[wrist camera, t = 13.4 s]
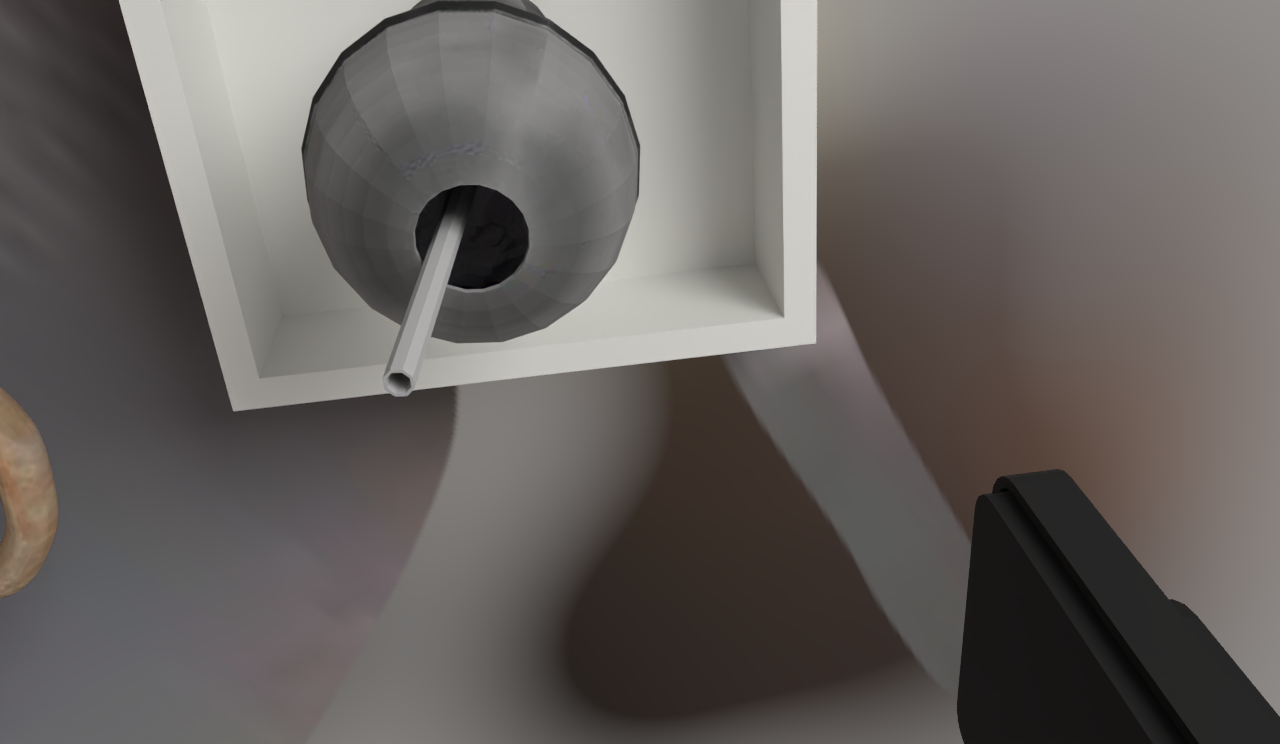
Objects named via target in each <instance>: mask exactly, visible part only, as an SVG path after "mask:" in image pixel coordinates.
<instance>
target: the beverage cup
mask: <svg viewBox="0 0 1280 744" xmlns="http://www.w3.org/2000/svg"><path fill="white" fill-rule="evenodd" d="M301 152H302V160H303V168H304V177H305V185H306V194H307V201H308V204H309V207H310V215H311V219H312V223H313V225H314V227H315V230H316V232H317V234H318V236H319V238H320V240H321V242H322V244H323V246H324V249H325V251H326V253H327V255H328V257H329V259H330V261H331V263H332V265H333V268H334V269H335V270H336V271H337V272H338V273H339V274H340V275H341V276H342V278H343V279H344V280H345V281H346V282H347V283H348V284H349V285H350V286H351V287H352V288H353V289H354V290H355V291H356V293H357V294H358V295H359V296H360V297H361V298H362V299H363V300H364V301H365V302H366V303H367V304H368V305H369V306H370V308H372V309H373V310H375V311H377V312H378V313H380V314H382V315H384V316H385V317H387V318H389V319H390V320H392V321H394V322H395V323H397V324H399V325H401V327H400V330H399V333H398V336H397V338H396V341H395V344H394V347H393V350H392V353H391V355H390V358H389V361H388V364H387V367H386V369H385V372H384V375H383V378H382V380H383V385H384V390H386V391H387V392H389V393H390V394H392V395H393V396H395V397H398V396H408V395H409V394H410V393H411V392H412V391H413V389H414V388H415V386H416V383H417V379H418V376H419V373H420V370H421V367H422V363H423V360H424V357H425V354H426V351H427V347H428V344H429V341H430V338H431V337H433V338H437V339H441V340H445V341H449V342H453V343H489V342H505V341H508V340H511V339H514V338H517V337H520V336H523V335H526V334H529V333H533V332H536V331H539V330H542V329H545V328H547V327H548V326H550V325H551V324H553V323H554V322H556V321H557V320H558V319H560V318H561V317H563V316H564V315H566V314H567V313H569V312H570V311H572V310H573V309H574V308H576V307H577V306H579V305H580V304H582V303H583V302H584V301H585V300H586V299H588V297H589V296H590V295H591V294H592V292H593V291H594V290H595V288H596V287H597V286H598V285H599V283H600V282H601V281H602V279H603V278H604V277H605V276H606V274H607V273H608V272H609V270H610V269H611V268H612V267H613V265H614V264H615V263H616V261H617V258H618V256H619V253H620V250H621V247H622V244H623V242H624V239H625V236H626V233H627V231H628V228H629V225H630V222H631V219H632V217H633V214H634V211H635V205H636V202H637V200H638V197H639V176H640V143H639V140H638V136H637V133H636V130H635V127H634V123H633V120H632V117H631V114H630V110H629V107H628V104H627V101H626V97H625V95H624V94H623V92H622V91H621V89H620V88H619V87H618V85H617V84H616V82H615V81H614V80H613V78H612V77H611V75H610V74H609V73H608V71H607V70H606V68H605V67H604V66H603V64H602V63H601V61H600V60H599V58H598V57H597V56H596V54H595V53H594V52H593V51H592V50H591V49H589V48H588V47H587V46H585V45H584V44H582V43H581V42H580V41H578V40H577V39H576V38H574V37H573V36H572V35H570V34H569V33H568V32H566V31H565V30H564V29H562V28H561V27H560V26H558V25H557V24H555V23H554V22H553V21H551V20H550V19H548V18H546V17H545V16H544V15H543V13H542V12H541V11H540V9H539V8H538V7H537V6H536V5H535V4H534V3H532V2H531V1H530V0H421V1H420V2H419V3H417V4H416V5H415V6H414V7H413V8H412V9H411V10H409V11H406V12H403V13H400V14H397V15H394V16H391V17H388V18H385V19H384V20H382V21H381V22H380V23H378V24H377V25H376V26H375V27H373V28H372V29H371V30H369V31H368V32H367V33H366V34H364V35H363V36H362V37H360V38H359V39H358V40H357V41H355V42H354V43H353V44H351V45H350V46H349V47H348V48H346V49H345V50H344V51H342V52H341V54H340V55H339V57H338V58H337V60H336V62H335V63H334V65H333V66H332V68H331V69H330V71H329V73H328V74H327V76H326V77H325V79H324V80H323V82H322V84H321V85H320V87H319V88H318V90H317V92H316V93H315V95H314V96H313V98H312V103H311V107H310V112H309V116H308V121H307V125H306V130H305V134H304V139H303V143H302V148H301Z"/></svg>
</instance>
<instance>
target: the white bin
mask: <svg viewBox="0 0 1280 744" xmlns="http://www.w3.org/2000/svg"><path fill="white" fill-rule="evenodd" d="M420 1H421V0H119V3H120V7H121V10H122V14H123V18H124V21H125V25H126V28H127V32H128V35H129V39H130V43H131V46H132V50H133V53H134V57H135V61H136V64H137V68H138V71H139V75H140V79H141V82H142V86H143V89H144V93H145V97H146V100H147V104H148V107H149V111H150V114H151V118H152V122H153V125H154V129H155V132H156V136H157V140H158V143H159V147H160V150H161V154H162V158H163V161H164V165H165V168H166V172H167V175H168V179H169V183H170V186H171V190H172V193H173V197H174V201H175V204H176V208H177V211H178V215H179V219H180V222H181V226H182V229H183V233H184V236H185V240H186V244H187V247H188V251H189V254H190V258H191V262H192V265H193V269H194V272H195V276H196V280H197V283H198V287H199V290H200V294H201V298H202V301H203V305H204V308H205V312H206V315H207V319H208V323H209V326H210V330H211V333H212V337H213V341H214V344H215V348H216V351H217V355H218V359H219V362H220V366H221V369H222V373H223V376H224V380H225V384H226V387H227V391H228V394H229V398H230V402H231V405H232V409H233V411H242V410H250V409H259V408H267V407H276V406H284V405H293V404H301V403H310V402H318V401H327V400H335V399H344V398H352V397H361V396H369V395H378V394H386V393H389V392H387V391H386V390H384V385H383V380H382V378H383V375H384V372H385V369H386V367H387V364H388V361H389V358H390V355H391V353H392V350H393V347H394V344H395V341H396V338H397V336H398V333H399V330H400V327H401V325H399V324H397V323H395V322H394V321H392V320H390V319H389V318H387V317H385V316H384V315H382V314H380V313H378V312H377V311H375V310H373V309H372V308H370V306H369V305H368V304H367V303H366V302H365V301H364V300H363V299H362V298H361V297H360V296H359V295H358V294H357V293H356V291H355V290H354V289H353V288H352V287H351V286H350V285H349V284H348V283H347V282H346V281H345V280H344V279H343V278H342V276H341V275H340V274H339V273H338V272H337V271H336V270H335V269H334V268H333V265H332V263H331V261H330V259H329V257H328V255H327V253H326V251H325V249H324V246H323V244H322V242H321V240H320V238H319V236H318V234H317V232H316V230H315V227H314V225H313V223H312V219H311V215H310V207H309V204H308V201H307V194H306V185H305V177H304V168H303V160H302V152H301V148H302V143H303V139H304V134H305V130H306V125H307V121H308V116H309V112H310V107H311V103H312V98H313V96H314V95H315V93H316V92H317V90H318V88H319V87H320V85H321V84H322V82H323V80H324V79H325V77H326V76H327V74H328V73H329V71H330V69H331V68H332V66H333V65H334V63H335V62H336V60H337V58H338V57H339V55H340V54H341V52H342V51H344V50H345V49H346V48H348V47H349V46H350V45H351V44H353V43H354V42H355V41H357V40H358V39H359V38H360V37H362V36H363V35H364V34H366V33H367V32H368V31H369V30H371V29H372V28H373V27H375V26H376V25H377V24H378V23H380V22H381V21H382V20H384V19H385V18H388V17H391V16H394V15H397V14H400V13H403V12H406V11H409V10H411V9H412V8H413V7H414V6H415V5H416V4H417V3H419V2H420ZM530 1H531V2H532V3H534V4H535V5H536V6H537V7H538V8H539V9H540V11H541V12H542V13H543V15H544V16H545V17H546V18H548V19H550V20H551V21H553V22H554V23H555V24H557V25H558V26H560V27H561V28H562V29H564V30H565V31H566V32H568V33H569V34H570V35H572V36H573V37H574V38H576V39H577V40H578V41H580V42H581V43H582V44H584V45H585V46H587V47H588V48H589V49H591V50H592V51H593V52H594V53H595V54H596V56H597V57H598V58H599V60H600V61H601V63H602V64H603V66H604V67H605V68H606V70H607V71H608V73H609V74H610V75H611V77H612V78H613V80H614V81H615V82H616V84H617V85H618V87H619V88H620V89H621V91H622V92H623V94H624V95H625V97H626V101H627V104H628V107H629V110H630V114H631V117H632V120H633V123H634V127H635V130H636V133H637V136H638V140H639V143H640V176H639V197H638V200H637V202H636V205H635V211H634V214H633V217H632V219H631V222H630V225H629V228H628V231H627V233H626V236H625V239H624V242H623V244H622V247H621V250H620V253H619V256H618V258H617V261H616V263H615V264H614V265H613V267H612V268H611V269H610V270H609V272H608V273H607V274H606V276H605V277H604V278H603V279H602V281H601V282H600V283H599V285H598V286H597V287H596V288H595V290H594V291H593V292H592V294H591V295H590V296H589V297H588V299H586V300H585V301H584V302H583V303H582V304H580V305H579V306H577V307H576V308H574V309H573V310H572V311H570V312H569V313H567V314H566V315H564V316H563V317H561V318H560V319H558V320H557V321H556V322H554V323H553V324H551V325H550V326H548V327H547V328H545V329H542V330H539V331H536V332H533V333H529V334H526V335H523V336H520V337H517V338H514V339H511V340H508V341H505V342H489V343H453V342H449V341H445V340H441V339H437V338H433V337H431V338H430V341H429V344H428V347H427V351H426V354H425V357H424V360H423V363H422V367H421V370H420V373H419V376H418V379H417V383H416V386H415V388H414V389H413V390H421V389H429V388H438V387H446V386H455V385H463V384H472V383H479V382H488V381H497V380H506V379H514V378H522V377H531V376H540V375H548V374H557V373H564V372H574V371H583V370H591V369H600V368H608V367H617V366H624V365H634V364H642V363H650V362H658V361H668V360H676V359H685V358H693V357H702V356H710V355H719V354H727V353H736V352H745V351H753V350H762V349H770V348H779V347H787V346H796V345H804V344H813V343H816V200H817V195H816V194H817V192H816V191H817V190H816V189H817V188H816V187H817V186H816V185H817V182H816V181H817V178H816V177H817V0H530Z"/></svg>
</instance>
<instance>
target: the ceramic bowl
mask: <svg viewBox="0 0 1280 744" xmlns="http://www.w3.org/2000/svg"><path fill="white" fill-rule="evenodd" d="M0 498H1V502H2V506H3V510H4V514H5V519H6V530H5V534H4V537H3V540H2V542H1V544H0V598H2V597H6V596H9V595H12V594H14V593H16V592H18V591H19V590H21V589H22V588H23V587H24V586H26V585H27V584H28V583H29V582H30V581H31V580H33V578H34V577H35V576H36V574H37V573H38V572H39V571H40V569H41V567H42V565H43V563H44V561H45V559H46V557H47V555H48V552H49V550H50V548H51V546H52V543H53V541H54V537H55V534H56V530H57V526H58V500H57V493H56V488H55V484H54V479H53V474H52V470H51V465H50V461H49V457H48V454H47V451H46V448H45V445H44V442H43V440H42V437H41V435H40V433H39V431H38V429H37V427H36V426H35V424H34V423H33V421H32V420H31V418H30V417H29V416H28V414H27V413H26V412H25V411H24V410H23V408H22V407H21V406H20V405H19V404H18V403H17V402H16V401H15V400H14V399H13V398H12V397H11V396H10V395H9V394H8V393H7V392H6V391H5V390H3V389H2V388H1V387H0Z"/></svg>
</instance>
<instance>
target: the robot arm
mask: <svg viewBox="0 0 1280 744" xmlns="http://www.w3.org/2000/svg"><path fill="white" fill-rule="evenodd" d="M957 715H958V723H959V728H960V732H961V735H962V739H963V741H964V744H1280V717H1279V716H1278V714H1277V713H1276V712H1275V711H1274V709H1273V708H1272V707H1271V706H1270V705H1269V703H1268V702H1267V701H1266V700H1265V699H1264V697H1263V696H1262V695H1261V694H1260V692H1259V691H1258V690H1257V689H1256V687H1255V686H1254V685H1253V684H1252V683H1251V681H1250V680H1249V679H1248V678H1247V676H1246V675H1245V674H1244V673H1243V671H1242V670H1241V669H1240V668H1239V667H1238V666H1237V664H1236V663H1235V662H1234V661H1233V659H1232V658H1231V657H1230V656H1229V654H1228V653H1227V652H1226V651H1225V649H1224V648H1223V647H1222V646H1221V645H1220V643H1219V642H1218V641H1217V640H1216V638H1215V637H1214V636H1213V635H1212V634H1211V632H1210V631H1209V630H1208V629H1207V627H1206V626H1205V625H1204V624H1203V623H1202V621H1201V620H1200V619H1199V618H1198V616H1196V615H1195V614H1194V613H1193V612H1192V611H1191V610H1190V609H1189V608H1188V607H1187V606H1186V605H1185V604H1182V603H1180V602H1178V601H1175V600H1173V599H1171V600H1169V599H1168V598H1167V597H1166V595H1164V593H1163V592H1162V590H1161V589H1160V588H1159V587H1158V585H1157V584H1156V583H1155V582H1154V580H1153V579H1152V578H1151V577H1150V575H1149V574H1148V573H1147V572H1146V570H1145V569H1144V568H1143V567H1142V565H1141V564H1140V563H1139V562H1138V560H1137V559H1136V558H1135V557H1134V556H1133V554H1132V553H1131V552H1130V550H1129V549H1128V548H1127V547H1126V545H1125V544H1124V543H1123V542H1122V540H1121V539H1120V538H1119V537H1118V536H1117V534H1116V533H1115V532H1114V530H1113V529H1112V528H1111V527H1110V525H1109V524H1108V523H1107V522H1106V520H1105V519H1104V518H1103V517H1102V515H1101V514H1100V513H1099V512H1098V510H1097V509H1096V508H1095V507H1094V505H1093V504H1092V503H1091V502H1090V500H1089V499H1088V498H1087V497H1086V496H1085V494H1084V493H1083V492H1082V490H1081V489H1080V488H1079V487H1078V485H1077V484H1076V483H1075V482H1074V480H1073V479H1072V478H1071V477H1070V476H1069V475H1068V474H1067V473H1066V472H1065V471H1062V470H1059V469H1055V470H1048V471H1039V472H1031V473H1024V474H1016V475H1008V476H1002V477H1000V478H998V479H997V481H996V482H995V484H994V486H993V492H992V494H983V495H981V496H979V497H978V499H977V501H976V506H975V515H974V524H973V535H972V546H971V557H970V568H969V579H968V590H967V601H966V612H965V623H964V633H963V644H962V655H961V666H960V677H959V688H958V699H957Z"/></svg>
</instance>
